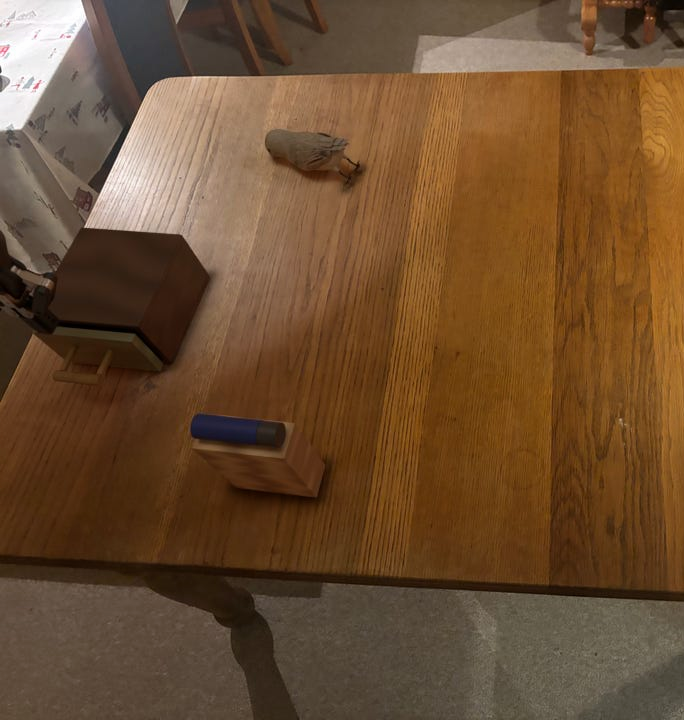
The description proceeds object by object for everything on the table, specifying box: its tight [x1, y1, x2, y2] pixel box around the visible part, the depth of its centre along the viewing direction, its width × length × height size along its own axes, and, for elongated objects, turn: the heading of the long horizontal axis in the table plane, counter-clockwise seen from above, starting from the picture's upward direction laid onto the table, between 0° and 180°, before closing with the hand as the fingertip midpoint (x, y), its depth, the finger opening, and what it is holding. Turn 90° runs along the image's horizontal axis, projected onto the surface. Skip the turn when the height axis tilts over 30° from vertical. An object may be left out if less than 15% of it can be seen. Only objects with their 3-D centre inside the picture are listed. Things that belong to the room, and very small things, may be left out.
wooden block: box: [191, 413, 326, 498], centre depth 73 cm, size 10×4×12 cm, turn 82°
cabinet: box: [48, 227, 211, 365], centre depth 88 cm, size 15×15×9 cm
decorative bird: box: [264, 128, 361, 188], centre depth 101 cm, size 5×16×8 cm, turn 67°
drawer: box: [31, 322, 164, 387], centre depth 86 cm, size 18×13×7 cm
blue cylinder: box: [189, 412, 286, 448], centre depth 67 cm, size 9×3×3 cm, turn 82°
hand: (50, 327), depth 76 cm, fingers closed
